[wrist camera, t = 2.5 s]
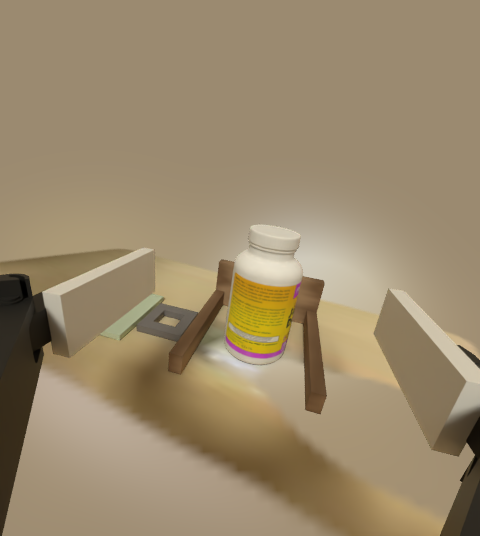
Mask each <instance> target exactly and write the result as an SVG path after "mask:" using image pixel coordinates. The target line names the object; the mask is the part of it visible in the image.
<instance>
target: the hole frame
mask: <svg viewBox="0 0 480 536" xmlns="http://www.w3.org/2000/svg"><path fill="white" fill-rule="evenodd" d="M197 315H198V312H194V311H190V310H186V309H182V308H178V307H174V306H170V305H166V304H162V303H160V304H159V305H158V306H157V307H155V308H154V309H153V310H152V311H151V312H150V313H149V314H148V315H147V316H146V317H144V318H143V319H142V320H141V321H140V322H139V323H138V324H137V331H139V332H143V333H147V334H151V335H154V336H158V337H162V338H166V339H169V340H173V341H177V342H178V340H179V339H180V338H181V336H182V335H183V334H184V332H185V331H186V330H187V328H188V327H189V326H190V324H191V323H192V321H193V320H194V319H195V317H196V316H197ZM164 316H167V317H171V318H175V319H179V320H180V322H179V323H178V324H177V325H176V326H175V327H173V326H169V325H165V324H162V323H158V322H159V321H160V320H161V319H162V318H163V317H164Z"/></svg>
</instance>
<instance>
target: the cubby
mask: <svg viewBox="0 0 480 536" xmlns="http://www.w3.org/2000/svg"><path fill="white" fill-rule="evenodd" d="M233 269H234V262H232V261H227V260H221V261H220V262H219V268H218V277H217V285H216V290H215V292H214V293H213V294H212V296H211V297H210V299H209V300H208V301H207V303H206V304H205V305H204V307H203V308H202V309H201V311H200V312H199V313H198V315H197V316H196V317H195V319H194V320H193V321H192V323H191V324H190V326H189V327H188V328H187V330H186V331H185V332H184V334H183V335H182V336H181V338H180V339H179V340H178V342H177V343H176V344H175V346H174V347H173V348H172V350H171V351H170V353H169V369H168V371H171V372H174V373H178V374H181V373H182V372H183V370H184V368H185V367H186V365H187V363H188V362H189V360H190V358H191V357H192V355H193V353H194V352H195V350H196V348H197V347H198V345H199V343H200V342H201V340H202V338H203V337H204V335H205V333H206V332H207V330H208V328H209V327H210V325H211V323H212V322H213V320H214V318H215V317H216V315H217V313H218V312H219V310H220V308H221V307H222V305H226V306H228V305H229V298H230V291H231V284H232V276H233ZM323 288H324V281H323V280H319V279H313V278H309V277H304V276H302V281H301V284H300V288H299V292H298V297H297V301H296V305H295V309H294V314H293V317H292V321H294V322H299V323H303V327H304V369H305V409H306V410H307V411H311V412H314V413H318V414H321V411H322V408H323V405H324V402H325V399H326V396H327V395H326V387H325V379H324V370H323V362H322V354H321V346H320V338H319V329H318V321H317V313H316V312H317V309H318V305H319V302H320V298H321V295H322V291H323Z"/></svg>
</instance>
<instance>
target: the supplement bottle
mask: <svg viewBox="0 0 480 536" xmlns="http://www.w3.org/2000/svg"><path fill="white" fill-rule="evenodd" d="M300 238H301V235H300V234H299V233H297V232H295V231H293V230H290V229H286V228H282V227H278V226H271V225H253V226H251V227H250V231H249V236H248V240H249V244H250V245H249V249H248V250H245V251H243V252H241V253H240V254H239V255H238V256H237V257H236V259H235V262H234V269H233V276H232V284H231V291H230V298H229V305H228V311H227V318H226V325H225V333H224V343H225V346H226V348H227V350H228V351H229V352H230V353H231V354H232V355H233V356H234V357H236V358H237V359H239V360H241V361H243V362H246V363H250V364H256V365H264V364H270V363H273V362H275V361H277V360H278V359H279V358H280V357H281V356H282V355H283V353H284V350H285V346H286V343H287V338H288V334H289V330H290V326H291V322H292V317H293V314H294V309H295V305H296V301H297V297H298V292H299V288H300V284H301V281H302V276H303V270H302V267H301V265H300V263H299V262H298V261H297V260H296V259H295V258H294V252H296V250H297V249H298V247H299V243H300Z"/></svg>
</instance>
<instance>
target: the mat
mask: <svg viewBox="0 0 480 536" xmlns="http://www.w3.org/2000/svg"><path fill="white" fill-rule="evenodd" d="M163 300H164V297H163V296H159V295H155V294H151V295H150V296H148V297H147V298H146V299H144V300H143V301H142V302H141V303H139V304H138V305H137V306H135V307H134V308H133V309H132V310H130V311H129V312H128V313H126V314H125V315H124V316H123V317H121V318H120V319H119V320H118V321H116V322H115V323H114V324H112V325H111V326H110V327H109V328H107V329H106V330H105V331H103V332H102V333H101V334H100V335H102V336H106V337H109V338H113V339H117V340H121V339H122V338H123V337H124V336H125V335H126V334H127V333H128V332H130V331H131V330H132V329H133V328H134V327H135V326H136V325H137V324H138V323H139V322H140V321H141V320H142V319H143V318H144V317H146V316H147V315H148V314H149V313H150V312H151V311H152V310H153V309H154V308H155V307H157V306H158V305H159V304H160V303H161V302H162V301H163Z"/></svg>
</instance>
